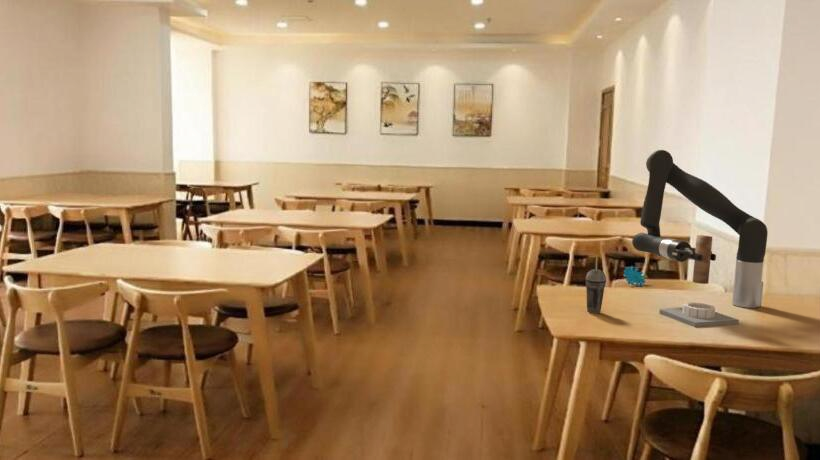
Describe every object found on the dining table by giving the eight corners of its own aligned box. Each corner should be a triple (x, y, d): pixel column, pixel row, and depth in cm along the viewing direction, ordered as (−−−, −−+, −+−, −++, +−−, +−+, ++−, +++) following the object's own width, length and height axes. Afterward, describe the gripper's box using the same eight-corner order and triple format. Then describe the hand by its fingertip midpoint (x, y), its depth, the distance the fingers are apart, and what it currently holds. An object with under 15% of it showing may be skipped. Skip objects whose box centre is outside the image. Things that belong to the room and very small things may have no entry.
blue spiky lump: (628, 283, 284) (622, 263, 290) (621, 290, 289) (615, 271, 295) (651, 286, 287) (645, 267, 293) (643, 293, 291) (638, 274, 297)
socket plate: (700, 311, 246) (702, 298, 246) (738, 324, 229) (739, 311, 229) (659, 313, 241) (660, 301, 240) (694, 327, 224) (695, 313, 223)
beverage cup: (605, 311, 241) (609, 256, 239) (602, 315, 235) (606, 259, 232) (585, 308, 244) (588, 254, 242) (581, 313, 238) (584, 257, 235)
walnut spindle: (701, 280, 237) (705, 235, 234) (711, 283, 232) (715, 237, 230) (689, 281, 235) (693, 235, 233) (699, 284, 230) (703, 237, 228)
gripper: (659, 239, 243) (691, 247, 227) (692, 239, 248) (726, 246, 231) (657, 260, 244) (690, 269, 228) (690, 259, 249) (724, 268, 232)
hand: (708, 257), depth 230 cm, fingers closed on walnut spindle, 5 cm apart
